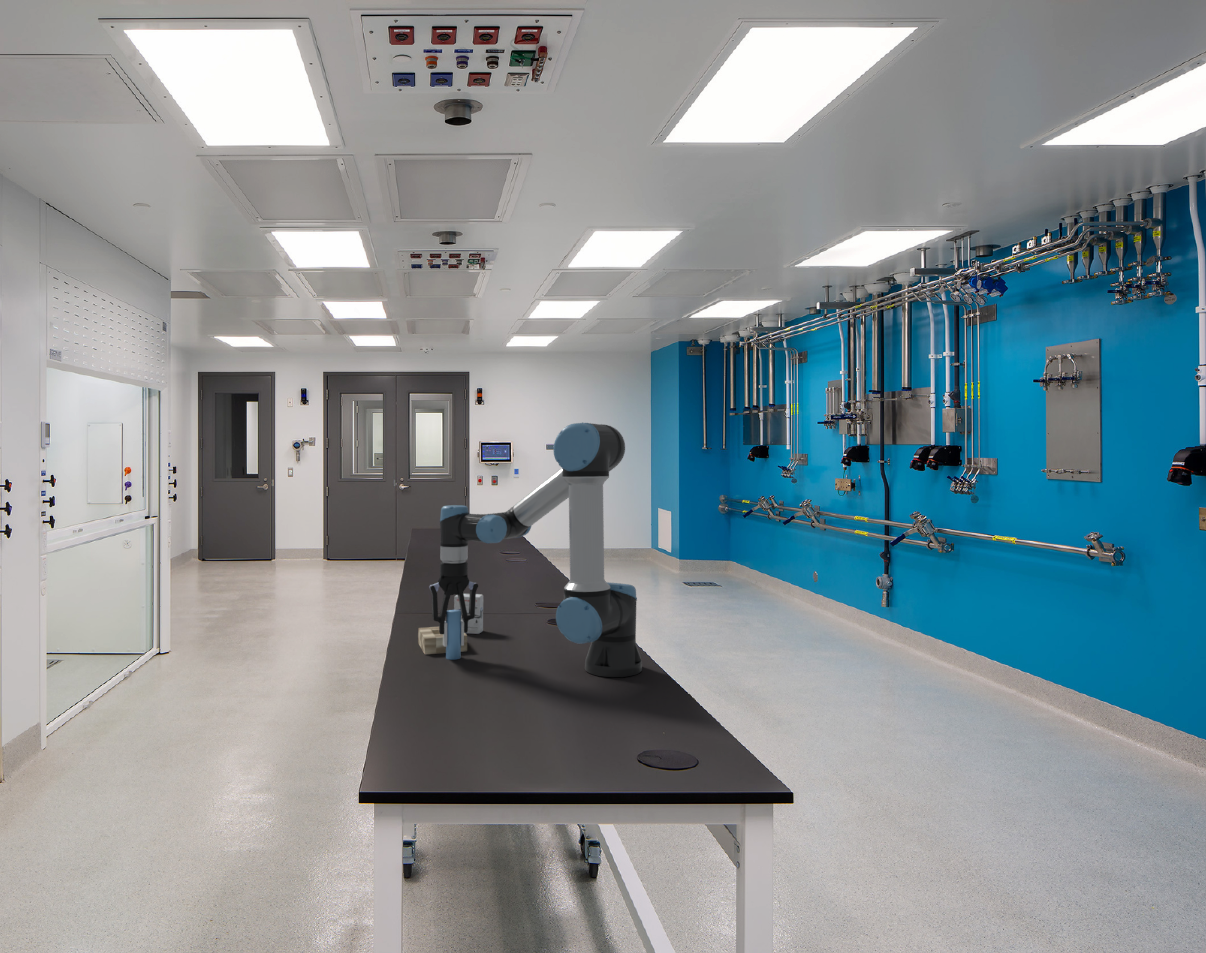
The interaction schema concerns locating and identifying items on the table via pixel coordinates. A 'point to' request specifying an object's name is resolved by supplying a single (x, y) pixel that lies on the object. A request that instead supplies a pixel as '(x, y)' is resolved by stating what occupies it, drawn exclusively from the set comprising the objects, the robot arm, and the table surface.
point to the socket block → (434, 641)
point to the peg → (453, 634)
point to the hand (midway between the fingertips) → (453, 644)
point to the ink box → (476, 623)
